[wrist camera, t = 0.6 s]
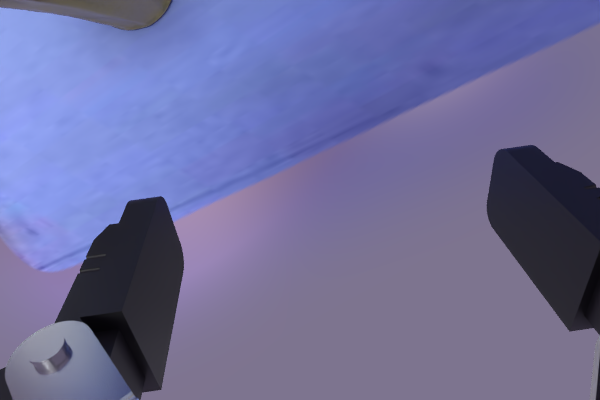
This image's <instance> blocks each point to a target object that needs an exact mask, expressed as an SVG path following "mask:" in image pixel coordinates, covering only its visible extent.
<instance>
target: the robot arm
mask: <svg viewBox="0 0 600 400" xmlns="http://www.w3.org/2000/svg"><path fill="white" fill-rule="evenodd" d="M487 214H488V218H489V221H490V224H491V226H492V228H493V229H494V230H495V232H496V233H497V234H498V236H499V237H500V238H501V240H502V241H503V242H504V244H505V245H506V247H507V248H508V249H509V250H510V252H511V253H512V255H513V256H514V257H515V259H516V260H517V261H518V263H519V264H520V265H521V266H522V268H523V269H524V271H525V272H526V273H527V275H528V276H529V277H530V279H531V280H532V281H533V283H534V284H535V285H536V287H537V288H538V290H539V291H540V292H541V294H542V295H543V296H544V298H545V299H546V300H547V301H548V303H549V304H550V306H551V307H552V308H553V310H554V311H555V312H556V314H557V315H558V316H559V318H560V319H561V320H562V322H563V323H564V324H565V326H566V327H567V328H568V330H569V331H575V330H583V329H589V328H594V329H595V330H596V331H597V332H598V334H599V335H600V188H596V185H595V184H594V183H593V182H591V180H589V179H588V178H587V177H586V176H584V175H583V174H582V173H581V172H579V171H577V170H574V169H572V168H570V167H568V166H565V165H563V164H561V163H558V162H556V163H555V162H554V161H552V160H551V159H550V158H549V157H548V156H547V155H545V154H544V153H543V152H542V151H541V150H540V149H538V148H537V147H536V146H533V145H528V146H521V147H515V148H507V149H501V150H499V151H498V152H497V153H496V155H495V158H494V163H493V169H492V175H491V181H490V187H489V194H488V200H487ZM86 258H87V259H86V260H84V262H83V264H82V266H81V269H80V274H78V275H77V277H76V279H75V281H74V283H73V285H72V288H71V290H70V292H69V294H68V296H67V298H66V300H65V302H64V304H63V306H62V309H61V311H60V313H59V315H58V317H57V319H56V321H55V323H54V324H52V325H50V326H47V327H45V328H43V329H41V330H39V331H37V332H36V333H34V334H33V335H32V336H30V337H29V338H27V339H26V340H25V341H24V342H23V343H22V344H21V345H20V346H19V347H18V348H17V349H16V350H15V351H14V353H13V354H12V356H11V357H10V359H9V361H8V363H7V366H6V367H5V368H3V369H1V370H0V400H140V399H141V395H142V392H149V391H155V390H161V388H162V382H163V377H164V372H165V366H166V361H167V355H168V350H169V345H170V339H171V334H172V329H173V324H174V318H175V313H176V308H177V302H178V297H179V292H180V286H181V281H182V276H183V270H184V260H183V252H182V247H181V244H180V241H179V238H178V235H177V233H176V230H175V226H174V224H173V221H172V218H171V215H170V212H169V209H168V206H167V203H166V201H165V200H164V198H163V197H161V196H160V197H153V198H146V199H139V200H131V201H129V202H128V203H127V205H126V208H125V210H124V212H123V215H122V217H121V220H120V222H119V223H118V224H111V225H109V226H108V227H107V228H106V229H105V230H104V231H103V232H102V233H101V234H99V235H98V236H97V237H96V238H95V239H94V241H93V243H92V245H91V247H90V249H89V251H88V254H87V256H86ZM590 400H600V336H599V338H598V340H597V342H596V346H595V355H594V364H593V373H592V383H591V393H590Z"/></svg>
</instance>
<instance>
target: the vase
mask: <svg viewBox="0 0 600 400" xmlns="http://www.w3.org/2000/svg"><path fill="white" fill-rule="evenodd" d="M170 2H171V0H0V7H2V8H11V9H20V10H28V11H35V12H45V13H53V14H57V15H64V16H70V17H75V18H79V19H84V20H88V21H92V22H96V23H101V24H105V25H110V26H113V27H115V28H119V29H122V30H135V29H140V28H144V27H148V26H150V25H152V24H153V23H154V22H156V21H157V20H158V19H159V18H160V17H162V15H163V14H164V13H165V11H166V10H167V8H168V6H169V4H170Z"/></svg>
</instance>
